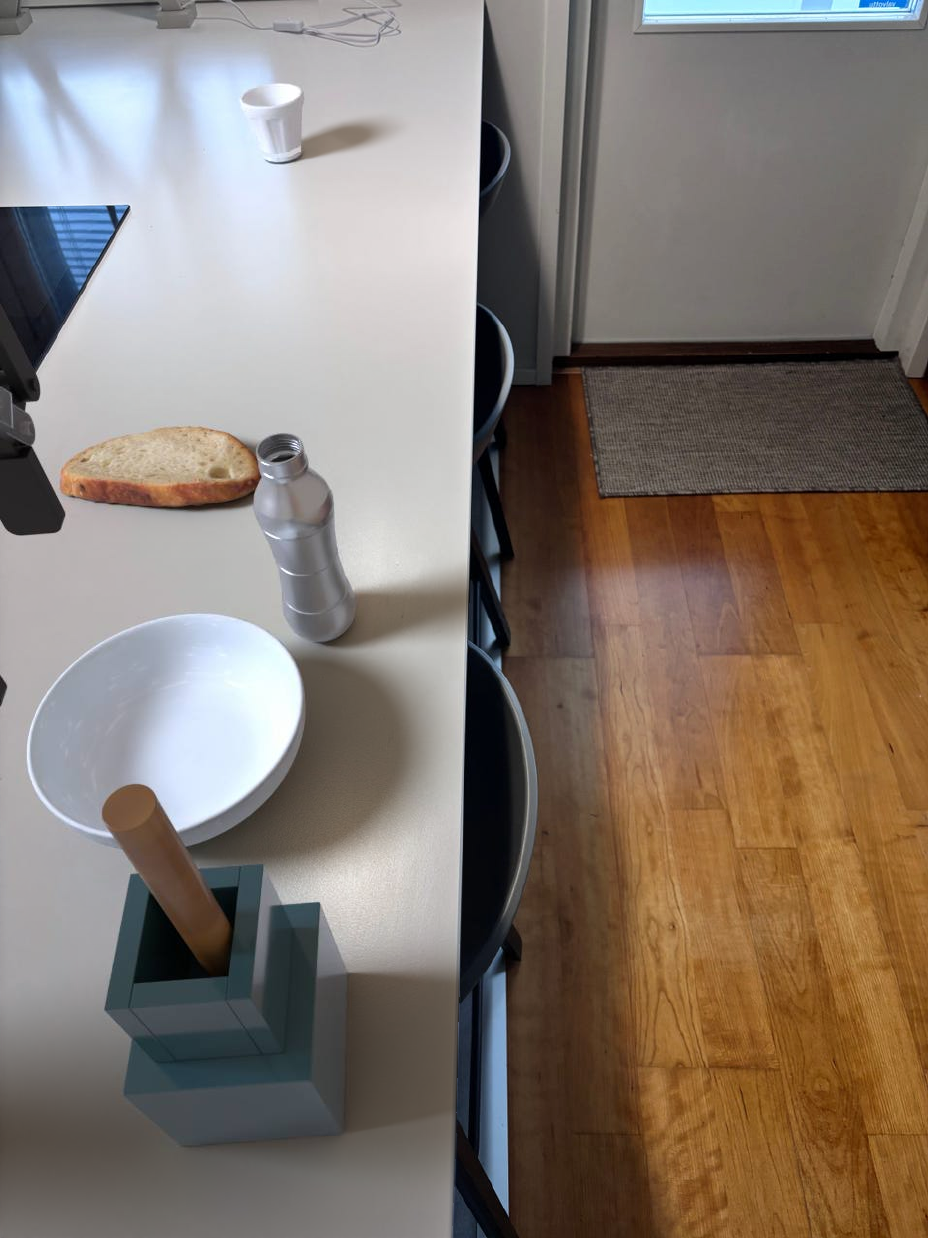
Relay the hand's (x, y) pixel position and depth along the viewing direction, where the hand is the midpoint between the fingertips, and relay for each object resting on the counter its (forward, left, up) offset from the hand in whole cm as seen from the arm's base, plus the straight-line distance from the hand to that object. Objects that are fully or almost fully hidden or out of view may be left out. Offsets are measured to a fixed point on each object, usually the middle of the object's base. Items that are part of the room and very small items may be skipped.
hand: (10, 609), depth 35 cm
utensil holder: (+1, -4, -39) cm, 39 cm away
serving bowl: (-7, +19, -39) cm, 44 cm away
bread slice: (-15, +55, -39) cm, 69 cm away
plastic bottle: (+3, +33, -39) cm, 52 cm away
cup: (-8, +136, -39) cm, 142 cm away
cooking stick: (+2, -4, -28) cm, 28 cm away
